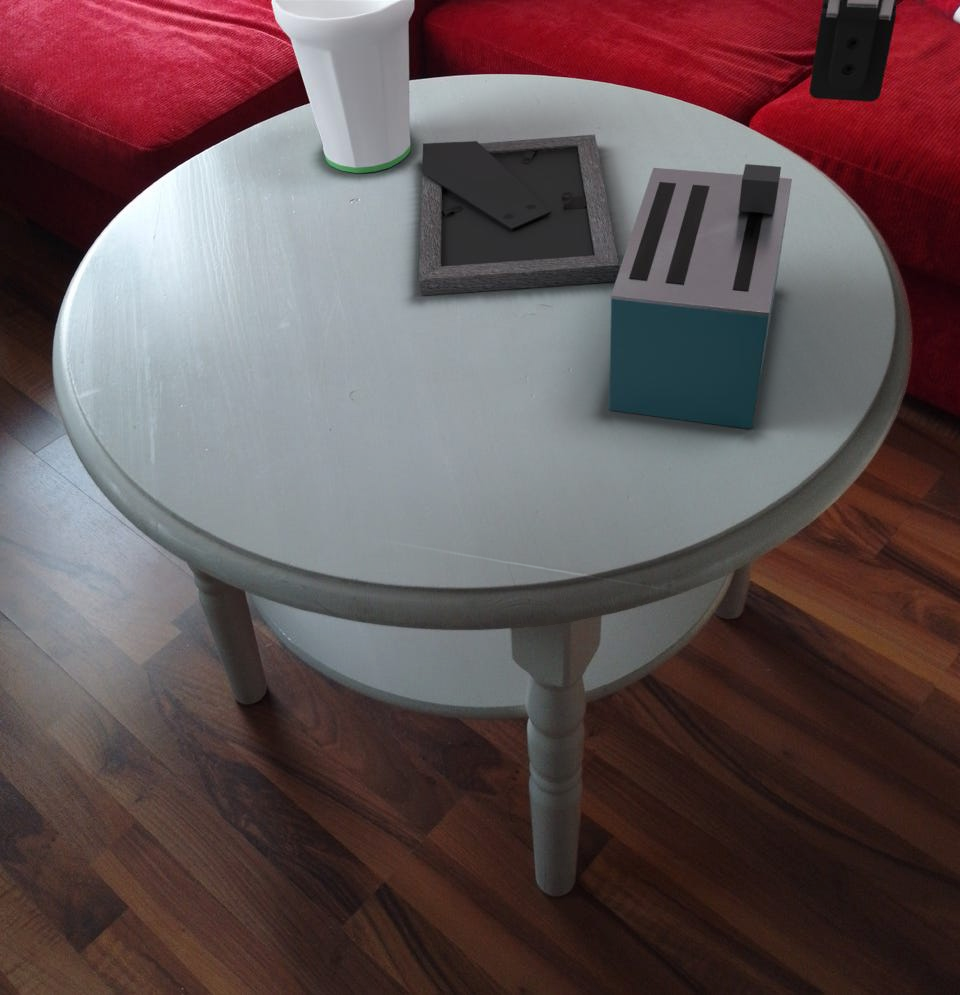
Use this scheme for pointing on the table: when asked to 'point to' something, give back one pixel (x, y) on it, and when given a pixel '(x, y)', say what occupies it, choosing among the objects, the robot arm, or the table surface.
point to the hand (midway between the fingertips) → (844, 91)
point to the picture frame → (514, 216)
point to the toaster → (695, 300)
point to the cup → (354, 76)
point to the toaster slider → (759, 188)
